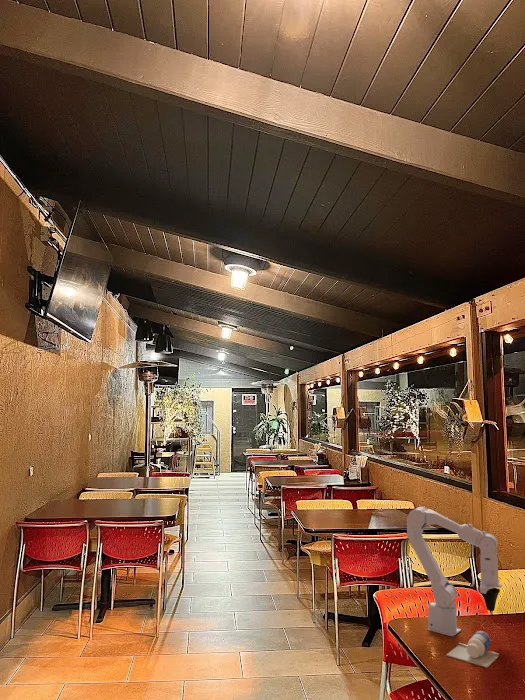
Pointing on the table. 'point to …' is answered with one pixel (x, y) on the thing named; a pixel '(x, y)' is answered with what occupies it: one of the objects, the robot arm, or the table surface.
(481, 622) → the table surface
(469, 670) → the table surface
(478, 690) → the table surface
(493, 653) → the stop strip
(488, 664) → the mat
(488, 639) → the pill bottle
